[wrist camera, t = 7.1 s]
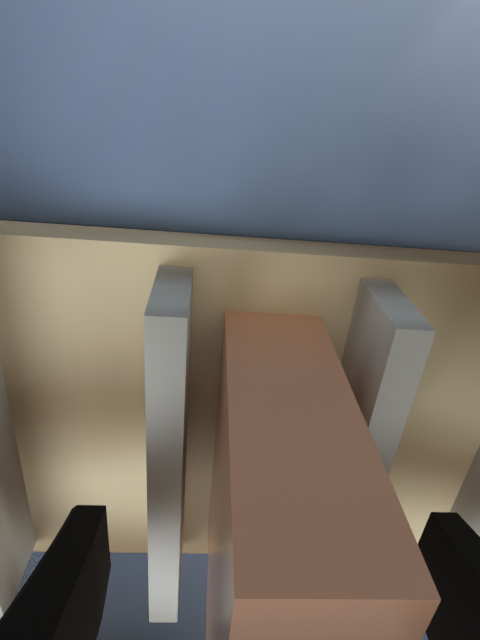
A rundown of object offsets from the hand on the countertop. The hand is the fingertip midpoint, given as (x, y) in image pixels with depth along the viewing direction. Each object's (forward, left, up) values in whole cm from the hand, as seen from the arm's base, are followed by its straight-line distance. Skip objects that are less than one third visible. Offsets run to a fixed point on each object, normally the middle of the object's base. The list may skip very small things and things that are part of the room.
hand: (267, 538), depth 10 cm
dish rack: (0, 0, -4) cm, 4 cm away
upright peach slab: (0, 0, -3) cm, 3 cm away
